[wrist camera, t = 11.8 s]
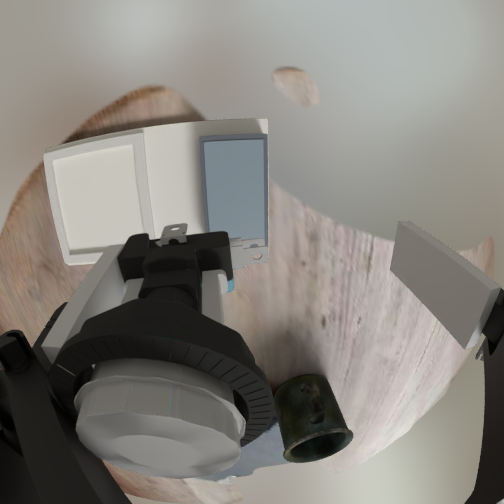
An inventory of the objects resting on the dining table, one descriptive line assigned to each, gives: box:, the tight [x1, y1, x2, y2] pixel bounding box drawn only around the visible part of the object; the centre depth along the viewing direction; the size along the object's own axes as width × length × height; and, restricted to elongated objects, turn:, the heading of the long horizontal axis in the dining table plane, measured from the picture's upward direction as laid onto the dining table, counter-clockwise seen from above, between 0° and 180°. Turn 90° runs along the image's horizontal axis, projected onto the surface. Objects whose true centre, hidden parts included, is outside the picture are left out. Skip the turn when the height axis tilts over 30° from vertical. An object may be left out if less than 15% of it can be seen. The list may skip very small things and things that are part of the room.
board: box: [43, 119, 269, 266], centre depth 27 cm, size 24×14×1 cm, turn 91°
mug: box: [274, 375, 353, 463], centre depth 38 cm, size 11×15×12 cm
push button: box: [51, 223, 275, 479], centre depth 9 cm, size 7×5×10 cm
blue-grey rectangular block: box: [199, 133, 268, 247], centre depth 27 cm, size 6×11×3 cm, turn 1°
